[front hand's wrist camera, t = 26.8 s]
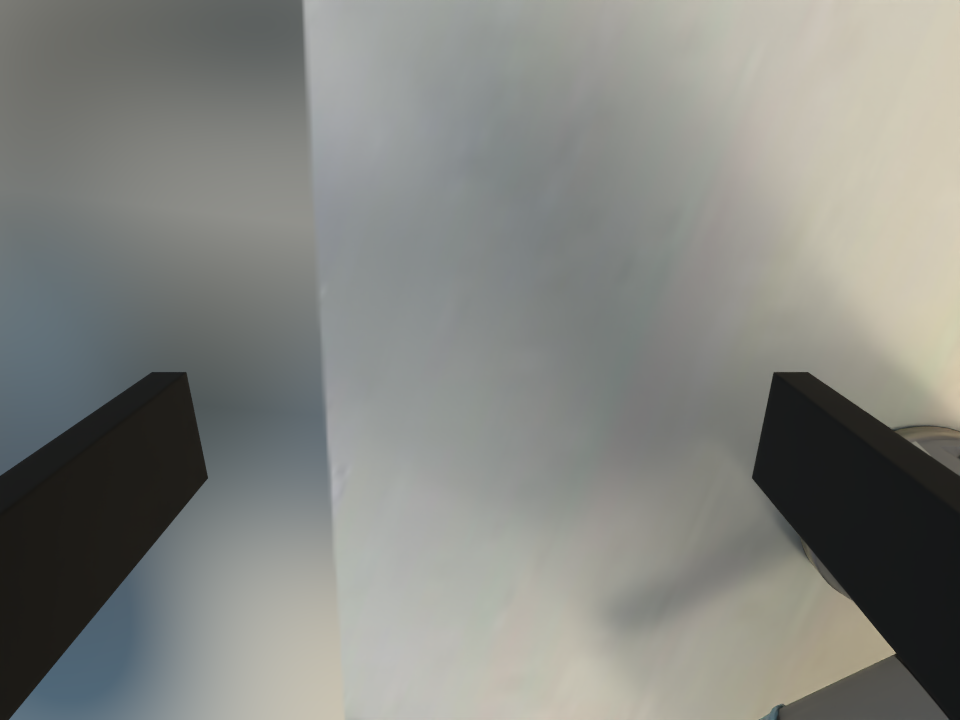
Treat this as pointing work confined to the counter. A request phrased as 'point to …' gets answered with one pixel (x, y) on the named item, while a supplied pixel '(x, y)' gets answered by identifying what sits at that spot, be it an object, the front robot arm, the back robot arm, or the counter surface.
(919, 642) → the front robot arm
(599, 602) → the counter surface
